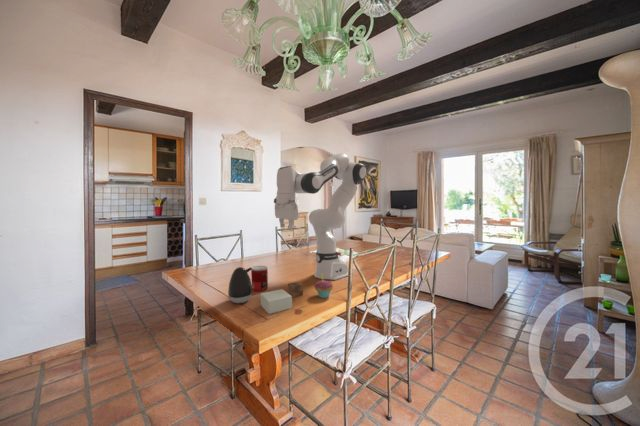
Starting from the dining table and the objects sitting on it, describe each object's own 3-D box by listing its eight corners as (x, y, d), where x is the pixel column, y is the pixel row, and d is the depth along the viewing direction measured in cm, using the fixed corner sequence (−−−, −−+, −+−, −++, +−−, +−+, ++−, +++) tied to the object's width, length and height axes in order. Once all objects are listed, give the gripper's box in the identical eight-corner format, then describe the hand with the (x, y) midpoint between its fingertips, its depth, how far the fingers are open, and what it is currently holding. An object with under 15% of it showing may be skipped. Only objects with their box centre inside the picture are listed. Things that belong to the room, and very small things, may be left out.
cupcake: (329, 300, 112) (329, 273, 111) (311, 298, 115) (311, 272, 114) (335, 293, 120) (334, 268, 120) (318, 291, 123) (318, 267, 122)
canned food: (264, 292, 123) (263, 270, 122) (248, 291, 124) (248, 269, 124) (270, 287, 130) (269, 265, 130) (255, 286, 132) (255, 265, 131)
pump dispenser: (256, 302, 111) (255, 268, 110) (231, 308, 105) (230, 272, 105) (248, 295, 120) (248, 263, 119) (226, 299, 114) (225, 266, 113)
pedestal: (282, 300, 113) (282, 289, 113) (292, 308, 105) (292, 296, 104) (260, 305, 108) (260, 293, 108) (269, 314, 100) (268, 301, 99)
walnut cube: (297, 291, 123) (297, 281, 123) (302, 295, 119) (302, 284, 119) (288, 293, 121) (288, 283, 121) (293, 297, 117) (292, 286, 116)
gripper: (301, 199, 115) (301, 230, 116) (283, 199, 133) (284, 226, 134) (288, 199, 112) (289, 230, 113) (272, 199, 130) (272, 226, 130)
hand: (286, 228), depth 123 cm, fingers open, 8 cm apart
